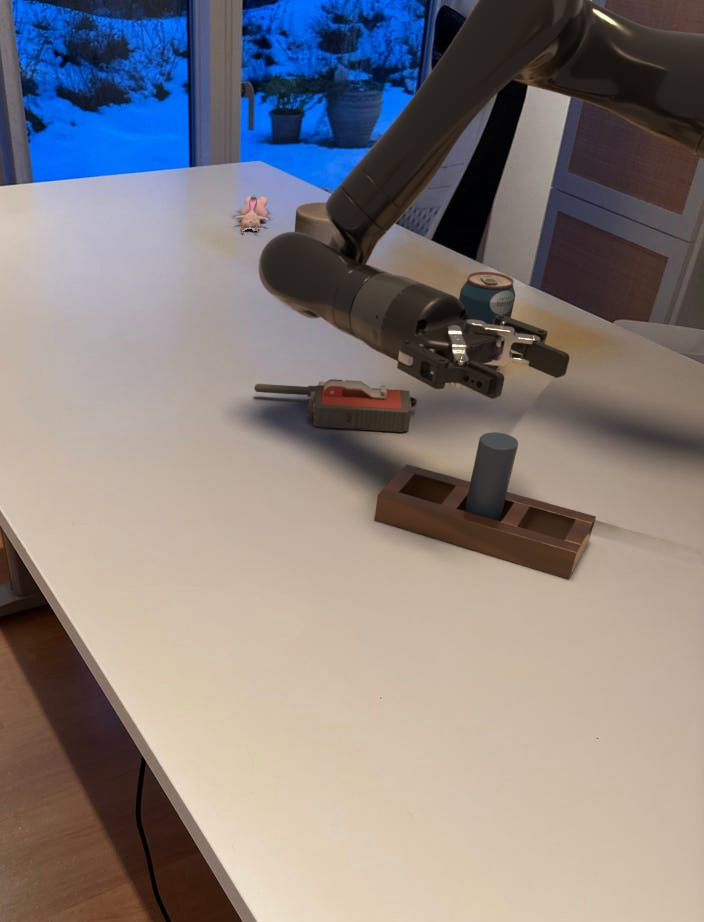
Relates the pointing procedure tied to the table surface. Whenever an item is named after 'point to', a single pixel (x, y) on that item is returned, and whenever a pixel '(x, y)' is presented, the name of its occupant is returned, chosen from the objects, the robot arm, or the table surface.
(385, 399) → the walkie-talkie
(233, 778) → the table surface
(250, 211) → the rabbit figure
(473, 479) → the peg
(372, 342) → the robot arm
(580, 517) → the peg block
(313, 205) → the pillar candle
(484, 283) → the soda can
